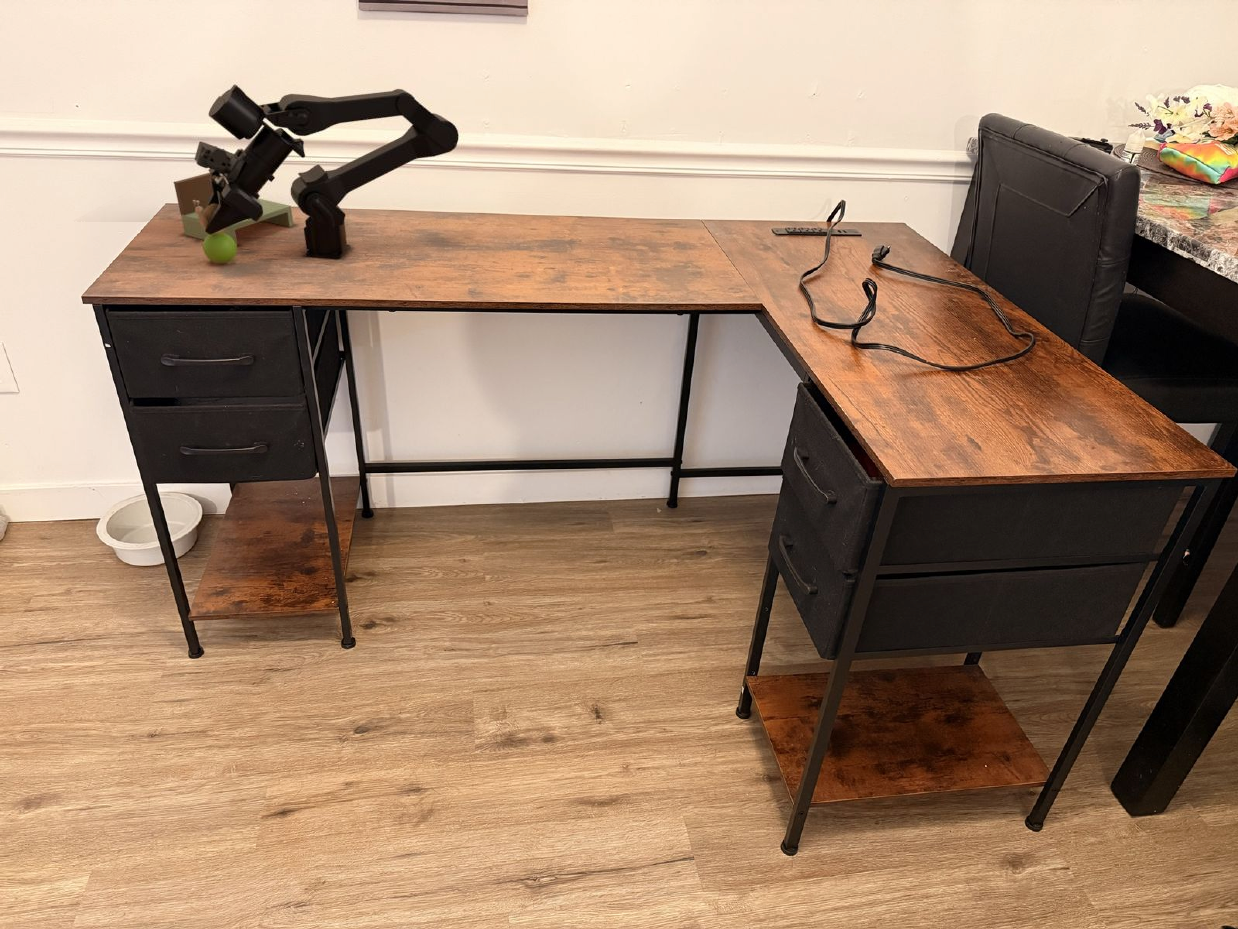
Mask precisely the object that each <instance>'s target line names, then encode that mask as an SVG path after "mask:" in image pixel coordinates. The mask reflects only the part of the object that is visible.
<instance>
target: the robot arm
mask: <svg viewBox="0 0 1238 929" xmlns="http://www.w3.org/2000/svg"><path fill="white" fill-rule="evenodd" d="M208 117H209V118H211V119H212V120H213V121H214V122H216V123H217V124H218V125H220V127H222V128H223V129H224V130H225V131H227V132H228V133H229V134H231V135H232V136H233V137H234V138H236V139H237V140H238V141H241V140H242V139H245V140H251V141H250V142H249V144H248V145H247V146H246V147H245V148H238V149H236V151H235V152H234V153H233V152H230V151H228V150H226V149H225V148H220V147H218V146H216V145H212V144H210V143H207V142H204V141H199V142H198V145H197V148H196V152H195V156H194V161H196V165H197V166H199V167H202V168H204V169H208V173H210V174H211V175H213V176H214V175H215V176H217V177H216V179H215V180H214V179H213V178H211V177H210V182H211V187H212V194H211V197H210V199H209V201H208V204H207V206H206V208H207V207H208V206H209V205H211V204H219V205H218V207H217V209H216V210H215V212H214V214H213V216H212V218H211V219H210V221H209V223H208V225H207V227H206V229H205V232H207V233H208V234H210V235H211V234H213V233H216V232H218V231H220V230H222V229H224V228H227V227H229V226H231V225H234V224H236V223H239V222H241V221H244V220H246V219H248V220H249V219H252V220H254V221H256V222H257V221H258V220H259V218H260V217H261V216H262V215H263V208H262V205H261V204H260V202H259V200H257V199H258V198H259V199H260V197H261V195H260V193H259V192H261V190H262V189H263V187H265V185H266V184H267V182H271V183H272V182H273V181H274V180H275V178H276V177H275V176H274V174H275V173H276V172H277V170H278V169H279V168H280V167H281V165H282V164H283V163H284V162H285V161H286V159H288V157H289V156H290V155H291V153H292V152H294V153H296V154H297V155H298V156H299V157H300V158H302V159H304V158H306V153H305V147H304V146H305V141H304V140H303V139H302V138H300V137H308V136H310V135H314V134H317V133H320V132H323V131H325V130H327V129H329V128H331V127H333V126H336V125H338V124H344V123H345V124H346V123H352V122H359V121H360V122H361V121H369V120H378V119H384V118H385V119H386V118H393V117H403V118H404V119H405V120H406V121H408V122H409V123H410V124H411V126H410V127H409V128H408V129H407V131H406V132H405V133H404V134H403V135H402V136H400V137H398V138H396V139H394V140H392V141H390V142H388V143H386V144H383V145H382V146H380V147H378V148H376V149H373V150H372V151H370V152H368V153H365V154H364V155H361V156H359V157H357V158H356V159H354V160H352V161H349V162H347V163H345V164H343V165H341V166H340V167H338V168H335V169H329V170H325V169H324V168H323V167H322V166H321V165H320V164H315V165H314V166H313V167H311V168H310V169H308V170H307V171H304V172H303V171H302V172H298V173H297V175H298V177H297V178H295V179H294V180H293V181H292V183H291V186H290V197H291V199H292V201H294V203H295V204H296V206H297V207H298V208H299V210H300V211H301V212H302V213H303V214H304V215H306V216H307V218H306V219H304V223H305V226H304V227H303V235H304V241H305V243H304V244H305V248H306V250H307V251H306V252H305V255H306V256H307V257H319V258H331V259H341V258H342V257H344V255H345V254H346V253H347V252H348V251H349V250H350V249H351V245H350V244H348V242H347V231H346V222H345V219H346V213H345V211H344V210H342V208H341V207H340V206H339V204H340V203H341V202H342V201H343V200H344V198H345V197H346V196H347V195H348V194H349V193H351V192H353V191H355V190H357V189H358V188H361V187H362V186H365V185H367V184H369V183H371V182H373V181H375V180H377V179H379V178H381V177H382V176H385V175H386V174H389V173H391V172H393V171H394V170H396V169H398V168H400V167H403V166H404V165H407V164H408V163H411V162H413V161H414V160H418V159H426V158H435V157H438V156H441V155H444V154H447V153H451V152H452V151H454V150H455V149H456V148H457V145H458V142H459V135H460V134H459V130H458V128H457V127H456V125H455V124H454V123H452V122H451V121H450V120H449V119H447V118H445V117H444V116H442V115H440V114H437V113H433V112H431V111H430V110H428V108H426V107H425V106H424V105H422V103H420V102H419V101H418V100H416V98H415V97H414V95H412V93H410V92H408V91H406V90H404V89H403V88H396V89H393V90H390V91H388V90H387V91H379V92H372V93H371V92H370V93H363V94H353V95H344V96H335V97H325V96H324V97H323V96H319V95H318V96H317V95H312V94H299V93H289V94H285V95H283V96H282V97H281V98H280V100H279V101H274V102H270V103H265V104H258V103H256V102H255V100H253V99H252V98H250V96H248V95H247V94H246V93H245V91H244V90H243V89H241V87H240V86H238V85H237V84H233V85H232V86H231V87H230V89H227V90H226V91H225V92H224V93H222V94H221V95H219V96H218V97H217V98H216V99H215V101H214V102H213V103H212V105H211V107H210V108H209V110H208ZM265 120H267V121H268V122H269V123H271V124H272V125H273V126H274V127H275V128H276V127H277V128H276V129H274V128H273V127H272V126H271V125H269V124H268V123H267V122H266V121H265ZM285 129H287V130H288V131H289V132H291V133H292V134H294V135H296V136H298V137H299V138H294V137H293V136H292V135H290V134H289V133H288V132H287V131H286V130H285ZM206 208H205V210H206ZM204 212H205V211H204ZM257 223H258V222H257Z"/></svg>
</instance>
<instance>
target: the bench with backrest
mask: <svg viewBox="0 0 1238 929" xmlns="http://www.w3.org/2000/svg"><path fill="white" fill-rule="evenodd" d="M210 177H211V178H213V179H214V180H215V179H216V177H217V176H215V175H214V176H213V175H211V174H210V172H207V173H203V174H198V175H195V176H192V177H187V178H183V179H180V180H176V181H173V185H174V189H175V194H176V199H177V204H178V208H179V213H180V217H181V218H180V219H181V222H182V227H183V231H184V235H185V236H188V237H191V238H195V239H199V240H203V241H204V240H205V238H206V237H207V236H208V235H209V234H208V233H207V232H205V230H204V229H203V227H202V226H201V224H200V221H199V218H198V215H197V213H196V211H195V209H196V208H195V206H196V207H197V206H201V207H202V208H203V209H204V211H205V208H206V206H207V204H208V201H209V199H210V197H211V194H212V187H211V182H210ZM193 200H196V201H197V200H198V201H199V204H197V203H195V204H194V203H193ZM257 200H259V202H260V204H261V205H262V208H263V215H262V216H261V217H260V218H259V220H258V221H257V222H256V221H254V220H252V219H249V220H248V219H246V220H244V221H241V222H239V223H236V224H234V225H231V226H229V227H227V228H225V230H224V231H223V232H222V233H225V234H227V235H229V236H230V237H231V238H232V239H233V240H234V242H235V244H236V247H238V246H239V245H238V244H239V243H238V240H237V234H236V230H239V229H241V228H245V227H247V226H251V225H254V224H256V223H260V222H268V223H272V224H275V225H280V226H284V227H288V228H291V227H293V226H294V225H295V224H294V218H293V211H292V206H291V205H290V204H285V203H280V202H277V201H272V200H268V199H264V198H260V197H259V198H258V199H257Z"/></svg>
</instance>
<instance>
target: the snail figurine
mask: <svg viewBox="0 0 1238 929" xmlns="http://www.w3.org/2000/svg"><path fill="white" fill-rule="evenodd" d="M193 203H194V204H195V203H197V204H199V201H198V200H197V201H196V200H193ZM218 205H219V204H211V205H209V206H208V207H207V208H206V210H205V212H204V209H203V208H202V207H201V206H197V207H196V206H195V208H196V209H195V211H196V213H197V215H198V218H199V221H200V224H201V226H202V227H203V229H204V230H205V229H206V227H207V225H208V223H209V221H210V219H211V218H212V216H213V214H214V212H215V210H216V209H217V207H218ZM224 230H225V228H224V229H222V230H220V231H218V232H216V233H213V234H211V235H210V234H209V235H208V236H207V237H206V238H205V240H203V242H202V250H203V253H204V255H205V256H206V258H207V259H208V260H209V261H211V262H212V263H215V264H218V265H219V264H228V263H230V262H231V261H233V260H234V258H236V255H237V251H238V249H237V247H238V246H236V244H235V242H234V240H233V239H232V238H231V237H230V236H229V235H227V234H225V233H222V232H223V231H224Z"/></svg>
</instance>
